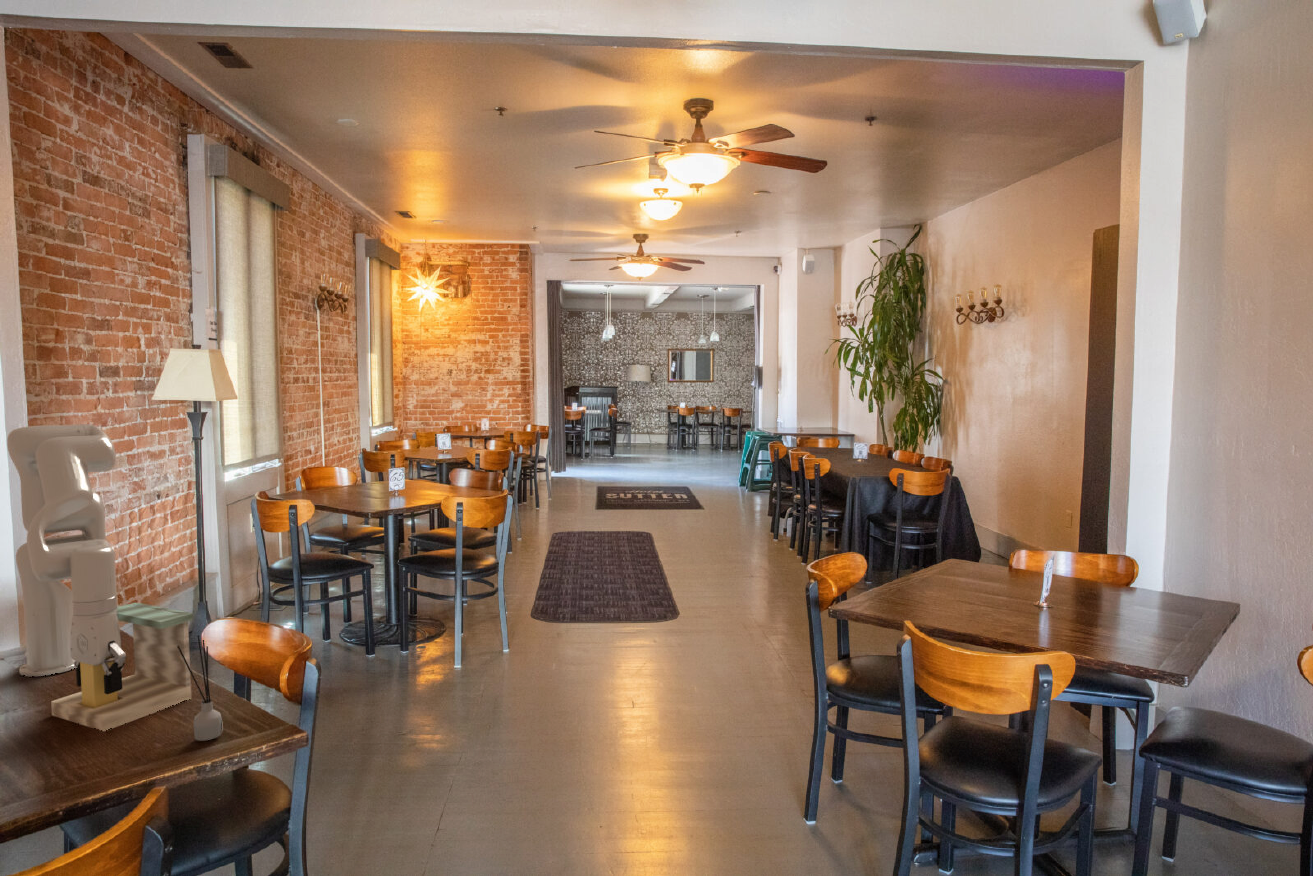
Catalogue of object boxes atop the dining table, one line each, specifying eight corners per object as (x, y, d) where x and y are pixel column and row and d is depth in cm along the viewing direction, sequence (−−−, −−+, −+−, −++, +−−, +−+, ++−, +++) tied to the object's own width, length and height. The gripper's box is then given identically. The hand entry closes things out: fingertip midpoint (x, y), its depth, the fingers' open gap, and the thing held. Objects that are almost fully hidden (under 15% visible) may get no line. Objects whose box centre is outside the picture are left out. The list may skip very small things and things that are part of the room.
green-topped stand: (49, 714, 165) (44, 625, 164) (139, 684, 182) (135, 602, 181) (107, 732, 157) (102, 638, 155) (196, 698, 173) (192, 613, 172)
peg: (83, 717, 164) (79, 660, 163) (105, 709, 168) (102, 653, 167) (95, 721, 162) (92, 663, 161) (118, 712, 166) (115, 656, 165)
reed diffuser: (227, 743, 152) (223, 640, 150) (186, 754, 147) (181, 648, 146) (216, 726, 159) (212, 628, 158) (177, 735, 155) (172, 635, 154)
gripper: (50, 606, 164) (55, 687, 165) (101, 616, 156) (105, 701, 157) (89, 597, 171) (94, 675, 172) (139, 606, 163) (143, 688, 164)
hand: (99, 688), depth 165 cm, fingers open, 9 cm apart
